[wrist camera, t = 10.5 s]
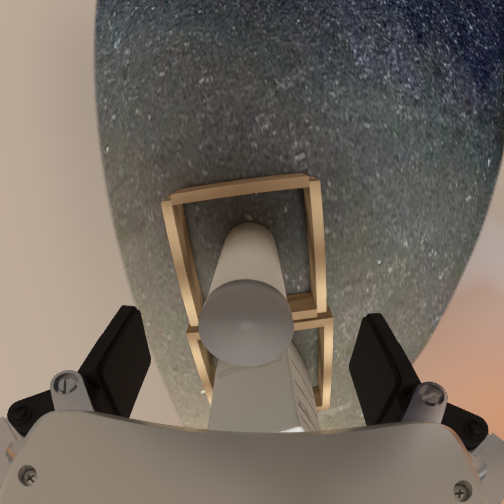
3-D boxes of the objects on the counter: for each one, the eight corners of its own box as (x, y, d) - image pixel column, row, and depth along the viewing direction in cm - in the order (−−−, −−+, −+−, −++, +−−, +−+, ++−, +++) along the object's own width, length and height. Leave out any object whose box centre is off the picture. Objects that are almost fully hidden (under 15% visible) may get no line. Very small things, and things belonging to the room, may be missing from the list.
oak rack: (164, 192, 23) (152, 198, 20) (318, 171, 22) (327, 174, 20) (218, 401, 32) (215, 419, 29) (324, 390, 31) (329, 408, 28)
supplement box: (249, 389, 31) (247, 484, 19) (217, 346, 28) (200, 449, 17) (310, 369, 30) (329, 466, 18) (284, 320, 27) (300, 427, 15)
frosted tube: (222, 220, 24) (194, 287, 13) (278, 222, 24) (298, 289, 13) (223, 271, 26) (201, 363, 14) (275, 273, 26) (289, 366, 14)
